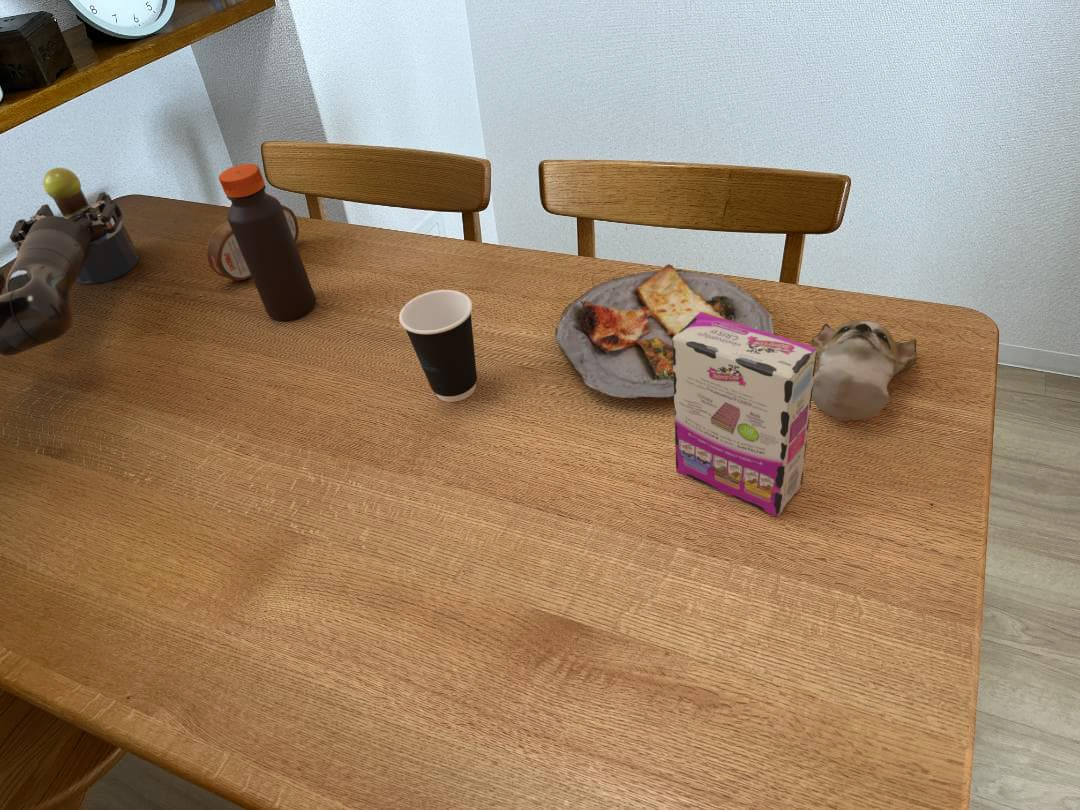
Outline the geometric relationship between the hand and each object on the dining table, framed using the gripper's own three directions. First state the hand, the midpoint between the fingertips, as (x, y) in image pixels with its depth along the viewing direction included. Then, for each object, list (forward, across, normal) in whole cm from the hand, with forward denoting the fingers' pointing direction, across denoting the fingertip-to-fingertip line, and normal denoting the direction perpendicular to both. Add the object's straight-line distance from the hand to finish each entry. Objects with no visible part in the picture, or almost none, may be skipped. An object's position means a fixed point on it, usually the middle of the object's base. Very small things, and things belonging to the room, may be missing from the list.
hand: (77, 204), depth 123 cm
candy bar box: (-78, -73, +10) cm, 107 cm away
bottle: (-28, -30, +10) cm, 42 cm away
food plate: (-54, -74, +10) cm, 92 cm away
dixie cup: (-54, -49, +10) cm, 73 cm away
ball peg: (-2, 0, +10) cm, 10 cm away
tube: (-2, 0, +10) cm, 10 cm away
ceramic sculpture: (-70, -89, +10) cm, 114 cm away
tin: (-13, -26, +10) cm, 31 cm away
